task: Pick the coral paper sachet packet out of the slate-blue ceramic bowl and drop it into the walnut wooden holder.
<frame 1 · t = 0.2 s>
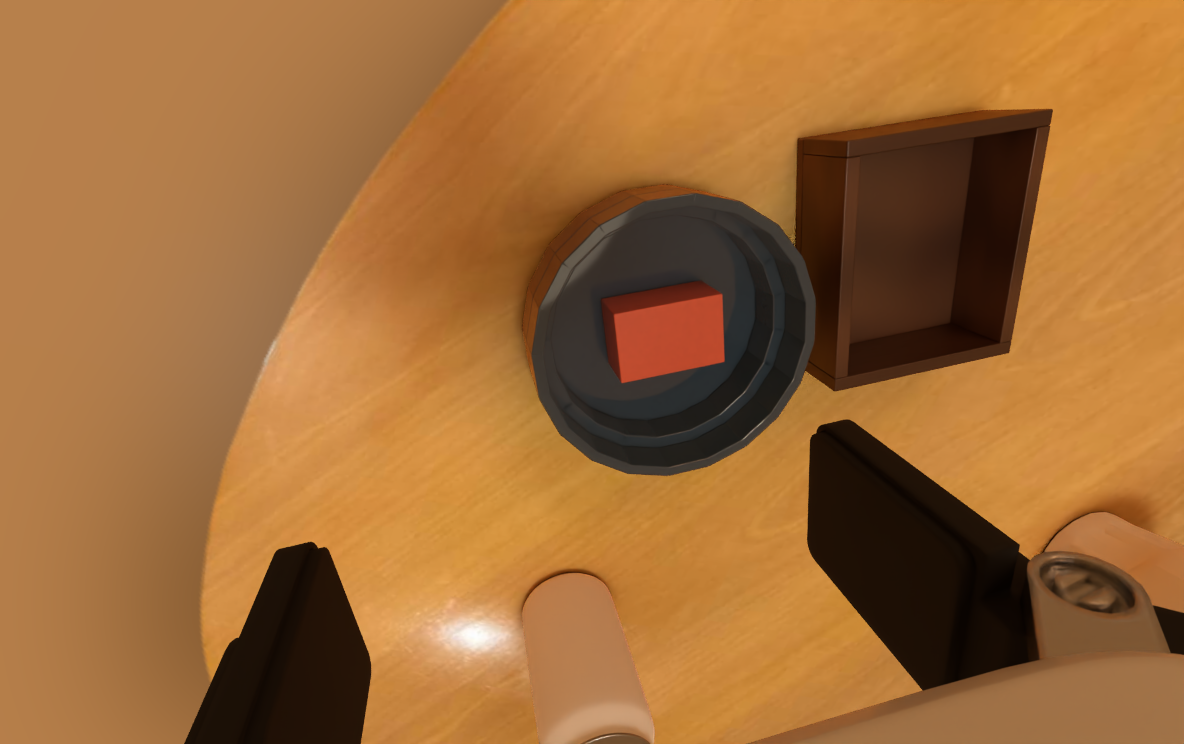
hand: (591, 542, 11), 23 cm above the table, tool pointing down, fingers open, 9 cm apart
bowl: (651, 319, 35), on the table
holder: (882, 243, 36), on the table
cup: (1077, 549, 52), on the table
packet: (654, 322, 34), point 1 cm above the table, touching bowl
can: (566, 603, 42), on the table
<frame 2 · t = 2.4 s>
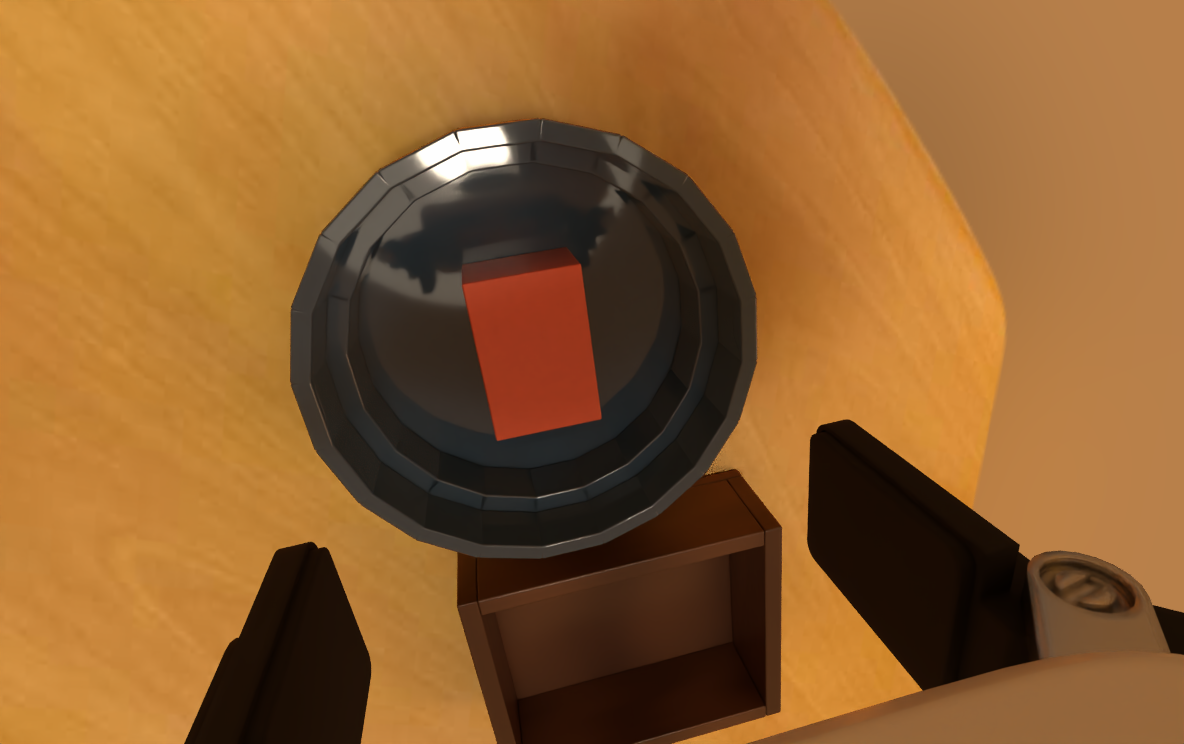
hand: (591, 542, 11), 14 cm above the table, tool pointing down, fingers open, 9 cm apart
bowl: (526, 325, 24), on the table
holder: (614, 591, 30), on the table
packet: (528, 329, 23), point 1 cm above the table, touching bowl
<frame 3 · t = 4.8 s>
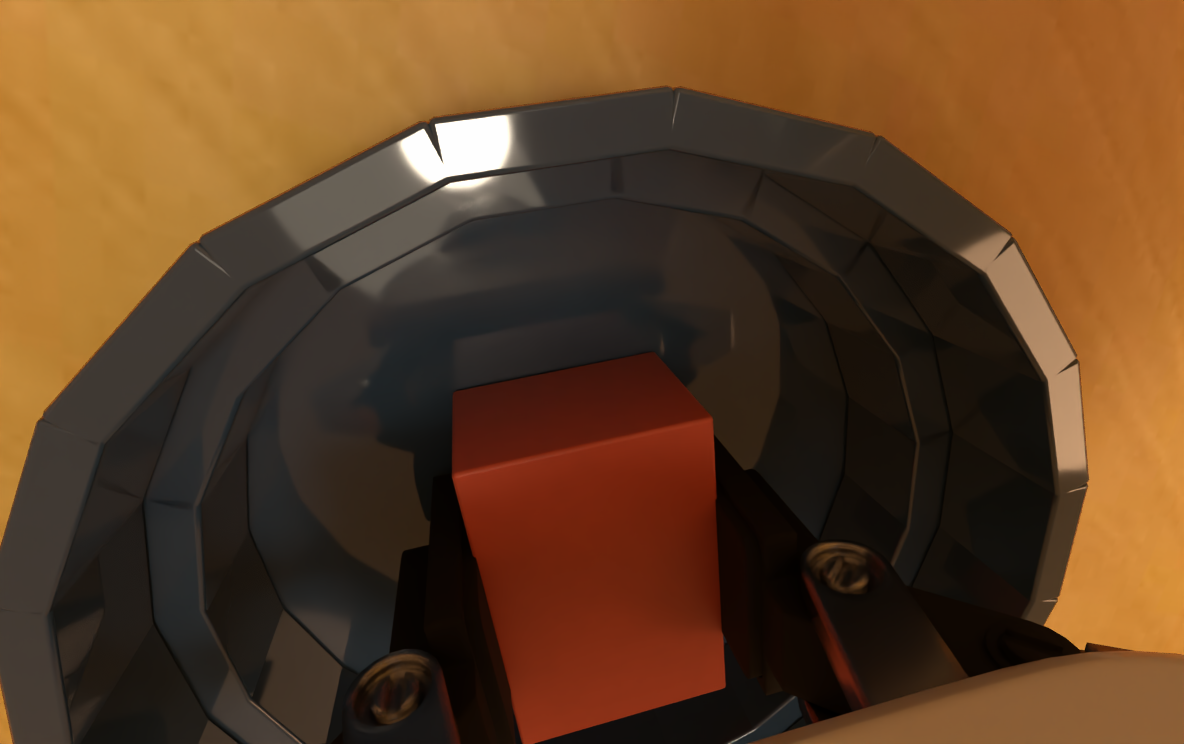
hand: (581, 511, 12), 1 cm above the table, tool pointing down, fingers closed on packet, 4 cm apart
bowl: (571, 482, 13), on the table
packet: (576, 497, 13), point 1 cm above the table, touching bowl, gripper
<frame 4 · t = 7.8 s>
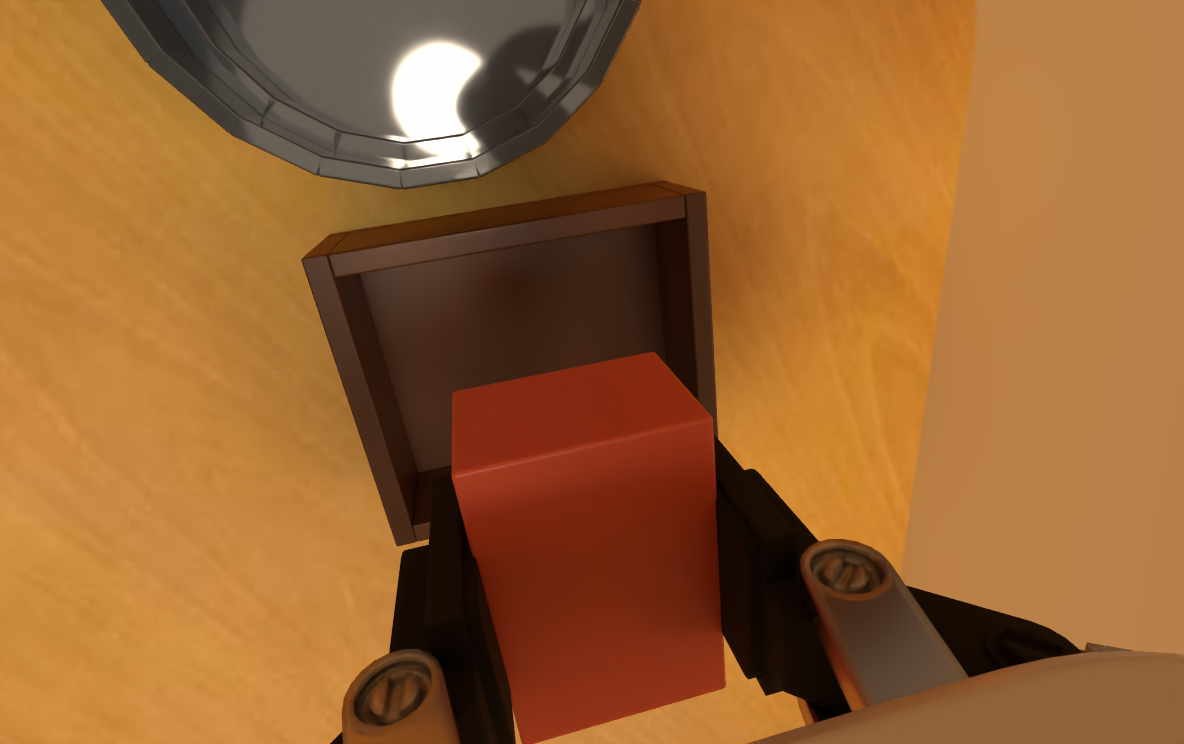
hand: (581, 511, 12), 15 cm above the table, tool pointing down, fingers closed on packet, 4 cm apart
holder: (528, 340, 26), on the table
packet: (576, 497, 13), point 14 cm above the table, touching gripper
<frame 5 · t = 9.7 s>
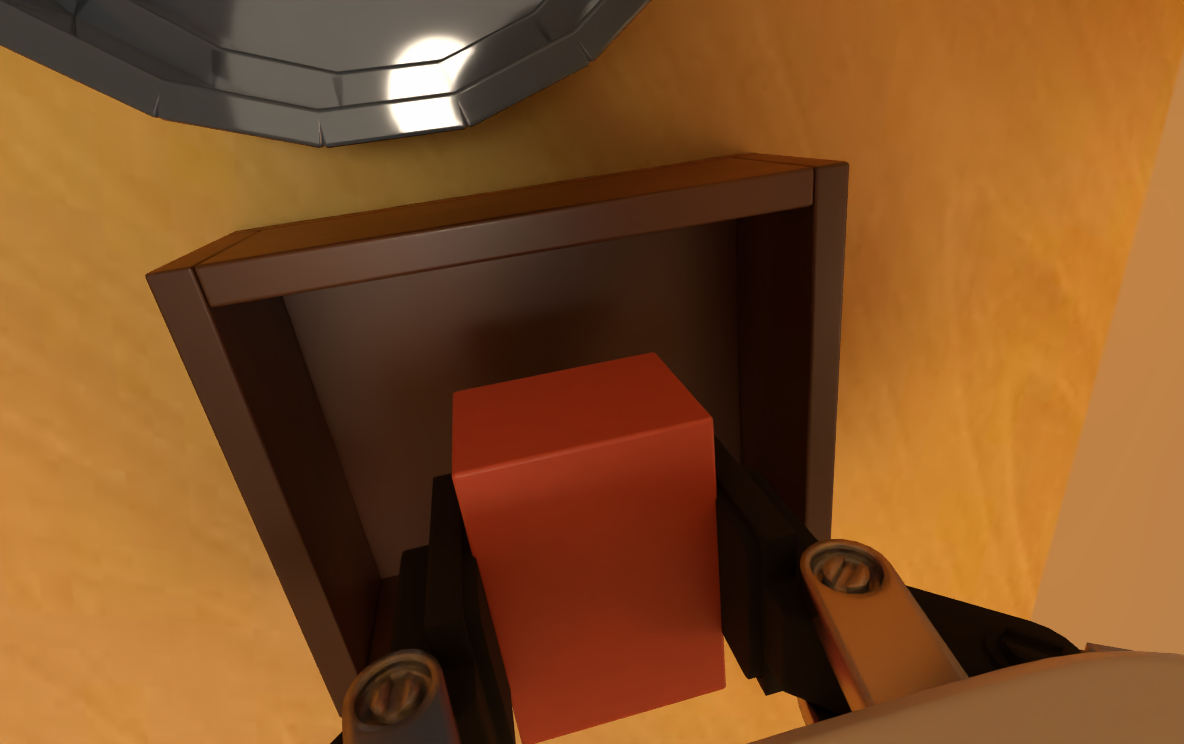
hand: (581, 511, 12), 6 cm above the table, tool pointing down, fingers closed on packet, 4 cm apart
holder: (542, 388, 18), on the table
packet: (576, 497, 13), point 6 cm above the table, touching gripper
when the fingers open (2 cm above the table, at t = 11.2 s): packet drops 1 cm, resting on holder.
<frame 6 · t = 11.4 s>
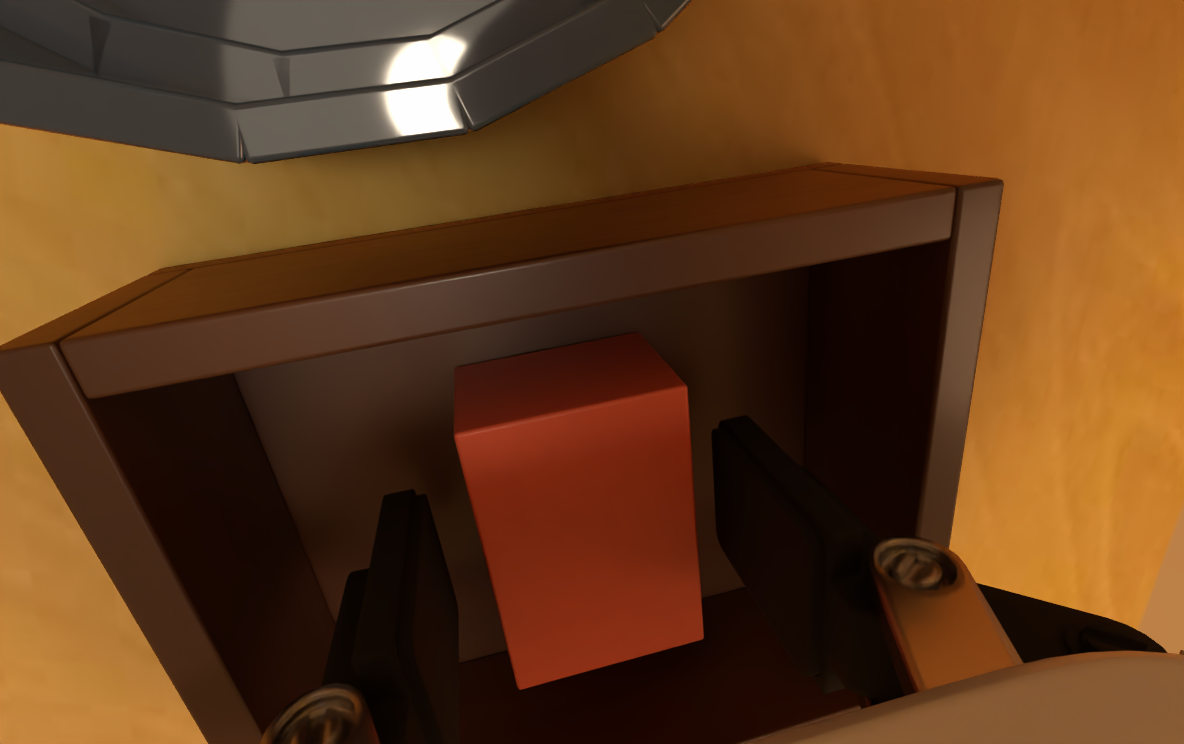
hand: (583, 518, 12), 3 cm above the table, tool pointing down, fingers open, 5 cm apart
holder: (562, 455, 14), on the table
packet: (568, 467, 14), point 1 cm above the table, touching holder
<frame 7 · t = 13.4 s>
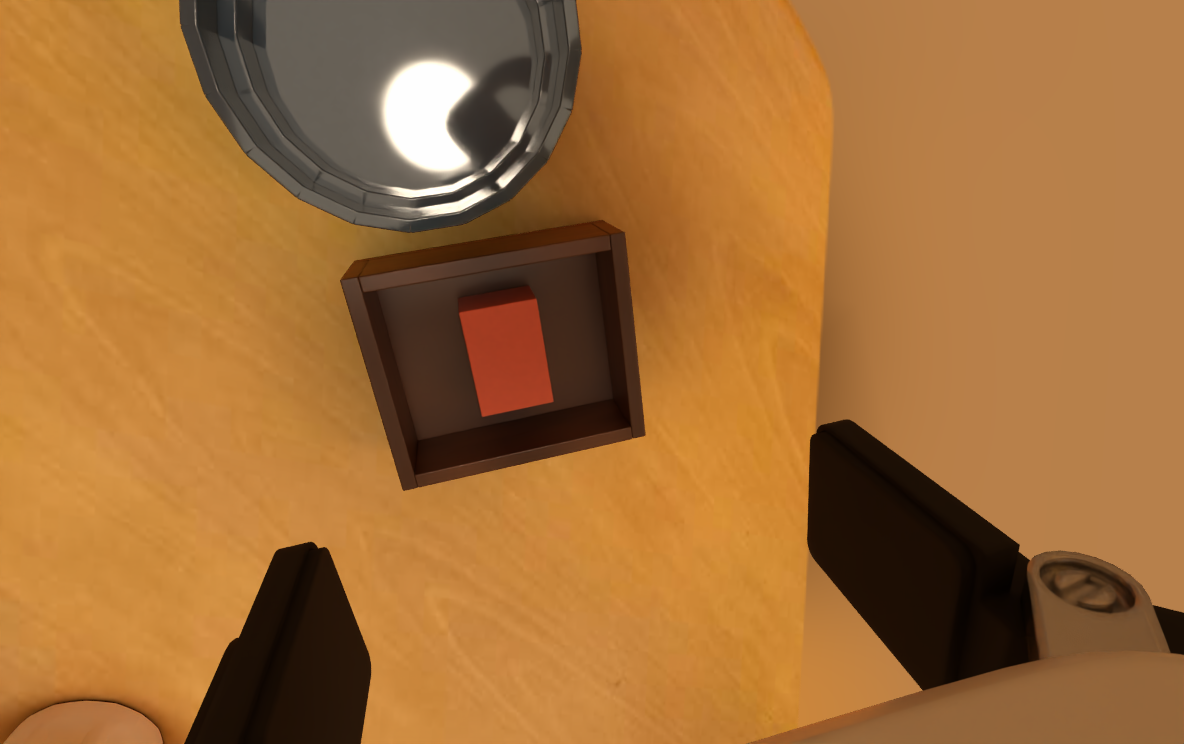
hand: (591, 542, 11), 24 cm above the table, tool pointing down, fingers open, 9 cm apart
bowl: (403, 54, 28), on the table
holder: (502, 338, 35), on the table
packet: (503, 341, 34), point 1 cm above the table, touching holder
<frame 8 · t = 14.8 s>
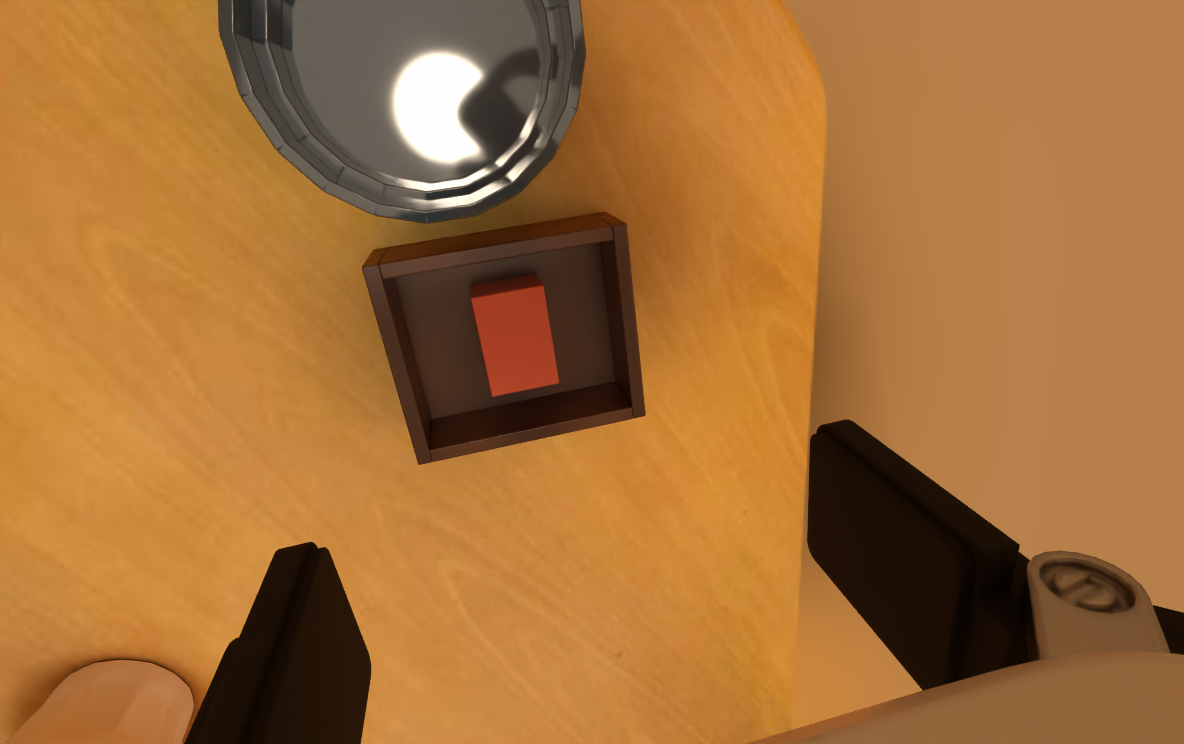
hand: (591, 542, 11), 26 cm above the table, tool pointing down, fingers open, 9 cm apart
bowl: (419, 56, 30), on the table
holder: (511, 324, 37), on the table
cup: (127, 702, 41), on the table
packet: (512, 326, 36), point 1 cm above the table, touching holder
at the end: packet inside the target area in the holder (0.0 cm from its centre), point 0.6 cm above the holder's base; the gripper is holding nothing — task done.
